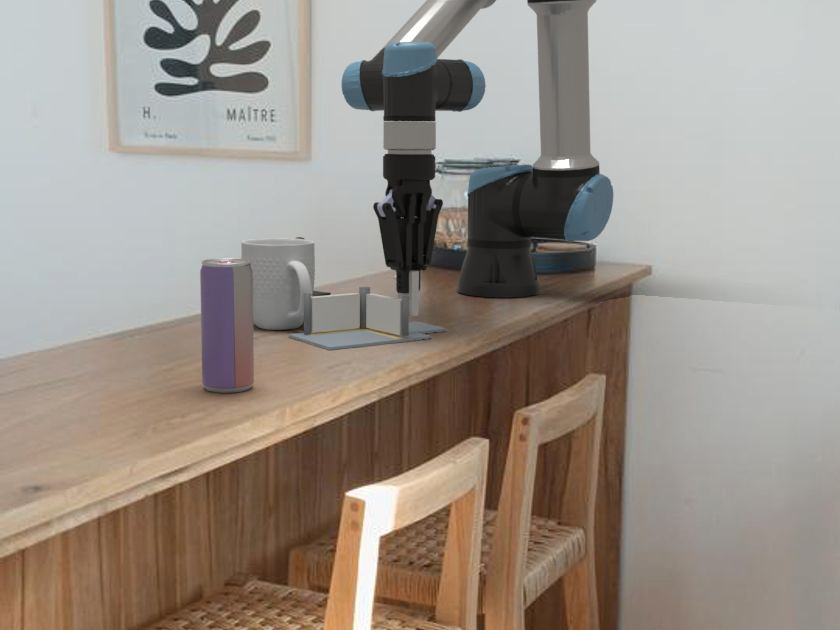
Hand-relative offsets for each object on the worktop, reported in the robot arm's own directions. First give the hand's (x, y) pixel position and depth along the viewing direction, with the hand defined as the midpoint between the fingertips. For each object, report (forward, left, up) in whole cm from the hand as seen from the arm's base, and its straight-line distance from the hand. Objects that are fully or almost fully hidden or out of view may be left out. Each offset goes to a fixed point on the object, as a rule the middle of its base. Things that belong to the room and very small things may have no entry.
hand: (408, 314), depth 177 cm
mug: (+13, -15, -3) cm, 20 cm away
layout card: (+4, -2, -3) cm, 6 cm away
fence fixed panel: (+8, -6, -3) cm, 11 cm away
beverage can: (+38, +18, -3) cm, 42 cm away
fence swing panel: (+3, -1, -2) cm, 4 cm away
